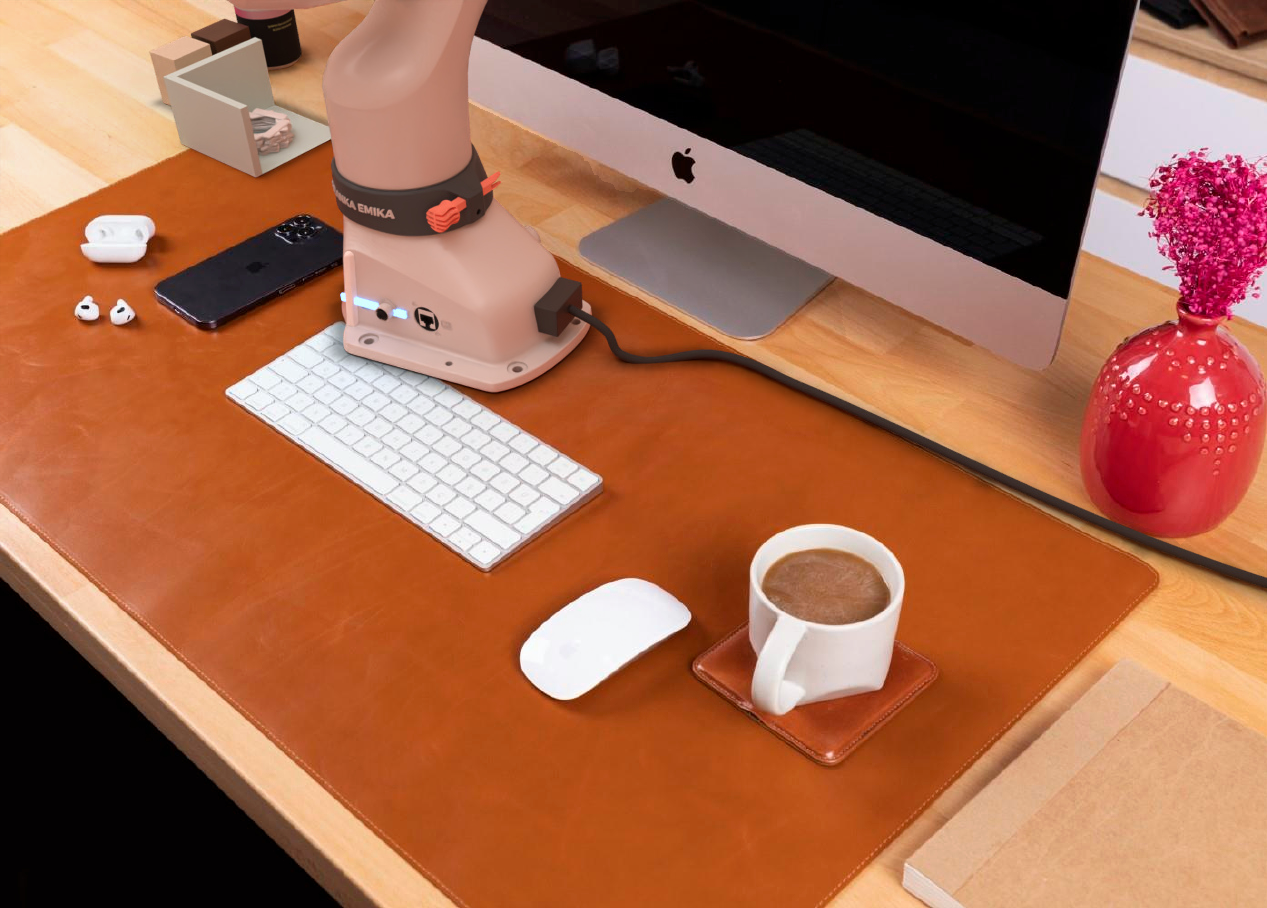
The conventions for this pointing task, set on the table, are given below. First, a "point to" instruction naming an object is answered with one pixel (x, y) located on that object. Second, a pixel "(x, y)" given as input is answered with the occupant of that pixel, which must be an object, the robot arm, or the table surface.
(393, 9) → the robot arm
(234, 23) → the walnut block
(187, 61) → the light tan block
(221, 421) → the table surface
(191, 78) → the l-shaped corner panel
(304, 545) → the table surface
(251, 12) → the beverage can
